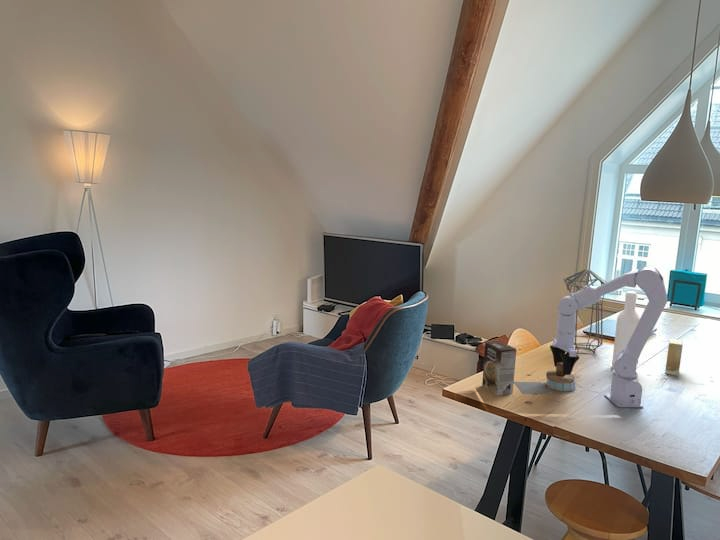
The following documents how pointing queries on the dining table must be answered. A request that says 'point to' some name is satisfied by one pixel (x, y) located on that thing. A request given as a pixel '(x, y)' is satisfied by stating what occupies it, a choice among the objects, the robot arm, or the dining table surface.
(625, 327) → the bottle
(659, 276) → the robot arm
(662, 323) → the dining table surface
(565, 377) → the lid
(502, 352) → the coffee box
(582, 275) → the geometric lantern
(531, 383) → the plate
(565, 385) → the bowl
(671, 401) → the dining table surface
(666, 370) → the skincare box
